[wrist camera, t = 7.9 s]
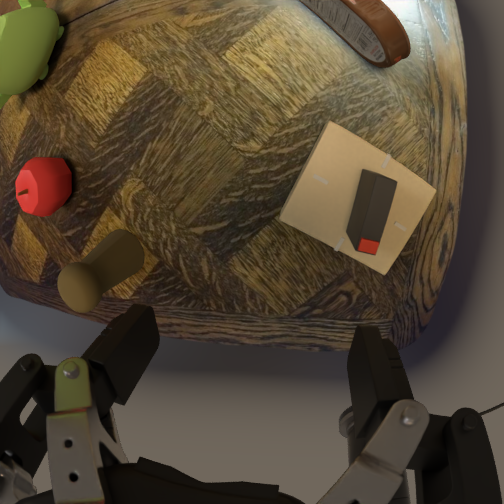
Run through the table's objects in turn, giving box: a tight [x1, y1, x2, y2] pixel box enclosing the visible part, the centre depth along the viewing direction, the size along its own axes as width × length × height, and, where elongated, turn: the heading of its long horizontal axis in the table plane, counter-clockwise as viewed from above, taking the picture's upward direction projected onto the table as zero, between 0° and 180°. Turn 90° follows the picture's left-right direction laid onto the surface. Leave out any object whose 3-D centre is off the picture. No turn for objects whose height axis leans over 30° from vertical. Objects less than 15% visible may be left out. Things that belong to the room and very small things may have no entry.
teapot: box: [0, 0, 64, 109], centre depth 16 cm, size 20×13×13 cm
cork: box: [57, 229, 144, 313], centre depth 27 cm, size 6×6×11 cm
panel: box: [279, 121, 436, 275], centre depth 24 cm, size 12×10×3 cm
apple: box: [16, 157, 72, 217], centre depth 26 cm, size 8×8×8 cm
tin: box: [299, 0, 411, 68], centre depth 15 cm, size 15×3×8 cm, turn 42°
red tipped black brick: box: [346, 169, 398, 255], centre depth 21 cm, size 6×2×5 cm, turn 170°
